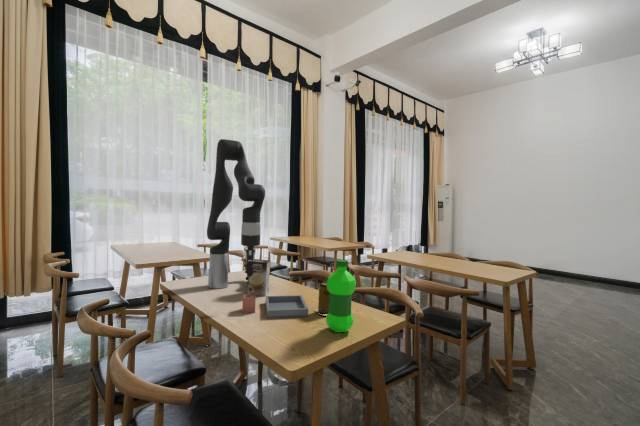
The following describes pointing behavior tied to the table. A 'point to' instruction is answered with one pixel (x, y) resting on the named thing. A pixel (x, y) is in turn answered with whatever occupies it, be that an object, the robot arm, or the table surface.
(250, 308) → the red block
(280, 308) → the tray
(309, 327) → the table surface
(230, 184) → the robot arm
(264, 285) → the coffee box
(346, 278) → the plastic bottle
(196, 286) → the table surface
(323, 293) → the condiment
